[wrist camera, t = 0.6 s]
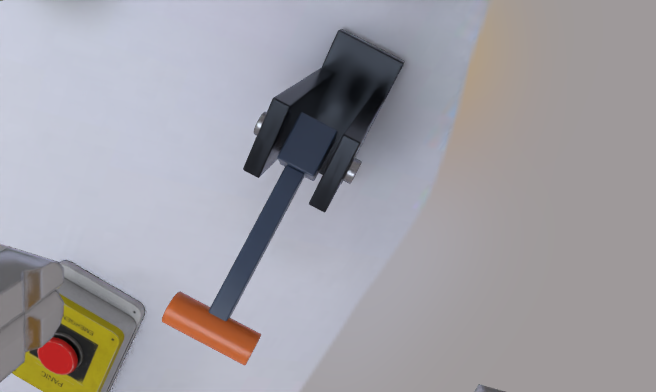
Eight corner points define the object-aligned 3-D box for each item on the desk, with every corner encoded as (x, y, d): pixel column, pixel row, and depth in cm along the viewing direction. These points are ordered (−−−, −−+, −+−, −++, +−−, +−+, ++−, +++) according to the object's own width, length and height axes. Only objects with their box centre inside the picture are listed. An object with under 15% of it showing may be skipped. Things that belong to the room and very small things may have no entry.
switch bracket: (349, 182, 42) (311, 257, 30) (280, 146, 42) (216, 208, 30) (411, 64, 38) (395, 98, 26) (335, 25, 38) (285, 41, 26)
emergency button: (122, 334, 46) (74, 441, 52) (148, 306, 50) (100, 409, 56) (27, 279, 46) (-10, 393, 52) (61, 256, 50) (23, 364, 56)
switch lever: (248, 360, 30) (242, 370, 28) (168, 318, 30) (156, 325, 28) (358, 149, 31) (361, 142, 29) (281, 109, 31) (277, 99, 29)
